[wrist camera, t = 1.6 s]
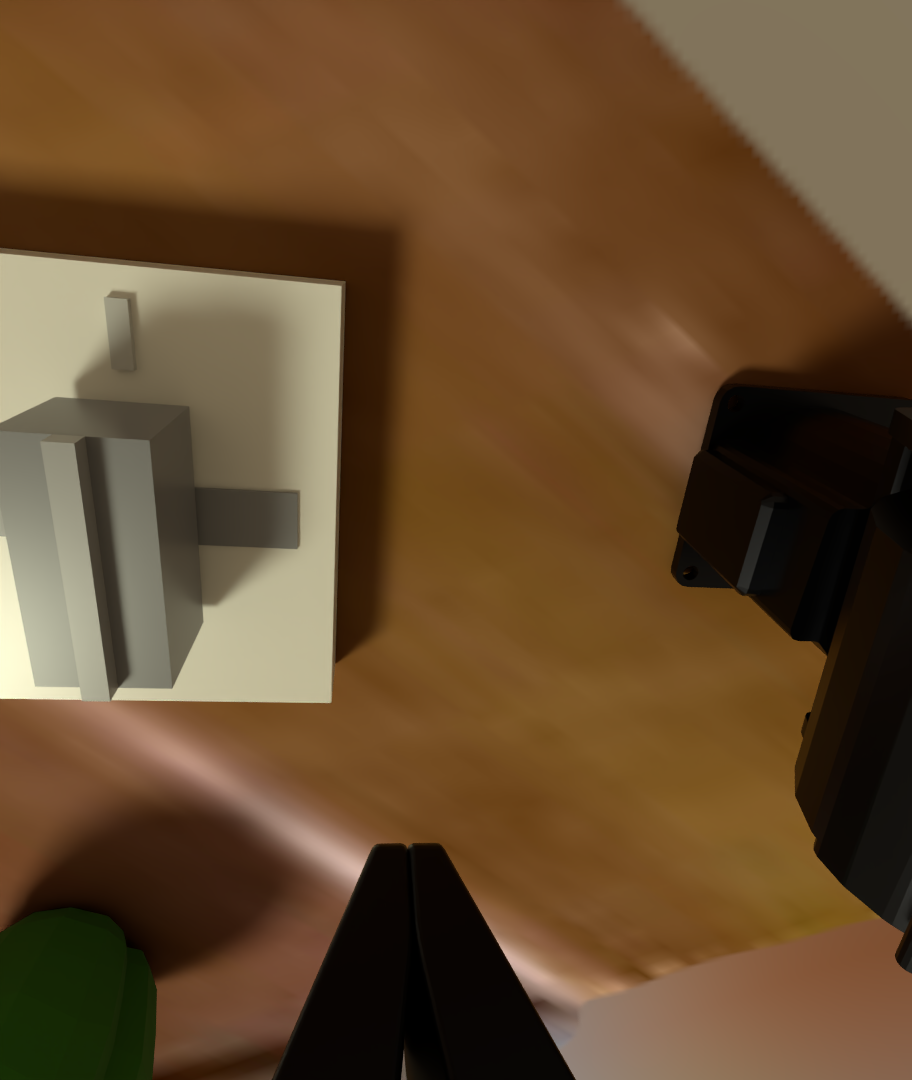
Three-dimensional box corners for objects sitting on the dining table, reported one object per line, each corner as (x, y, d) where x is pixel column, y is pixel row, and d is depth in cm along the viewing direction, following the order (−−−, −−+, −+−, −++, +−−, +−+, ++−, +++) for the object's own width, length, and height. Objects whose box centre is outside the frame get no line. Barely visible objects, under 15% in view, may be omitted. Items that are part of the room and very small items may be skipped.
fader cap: (189, 406, 16) (140, 447, 13) (203, 621, 18) (165, 702, 15) (55, 396, 15) (-30, 437, 12) (87, 618, 18) (24, 700, 15)
